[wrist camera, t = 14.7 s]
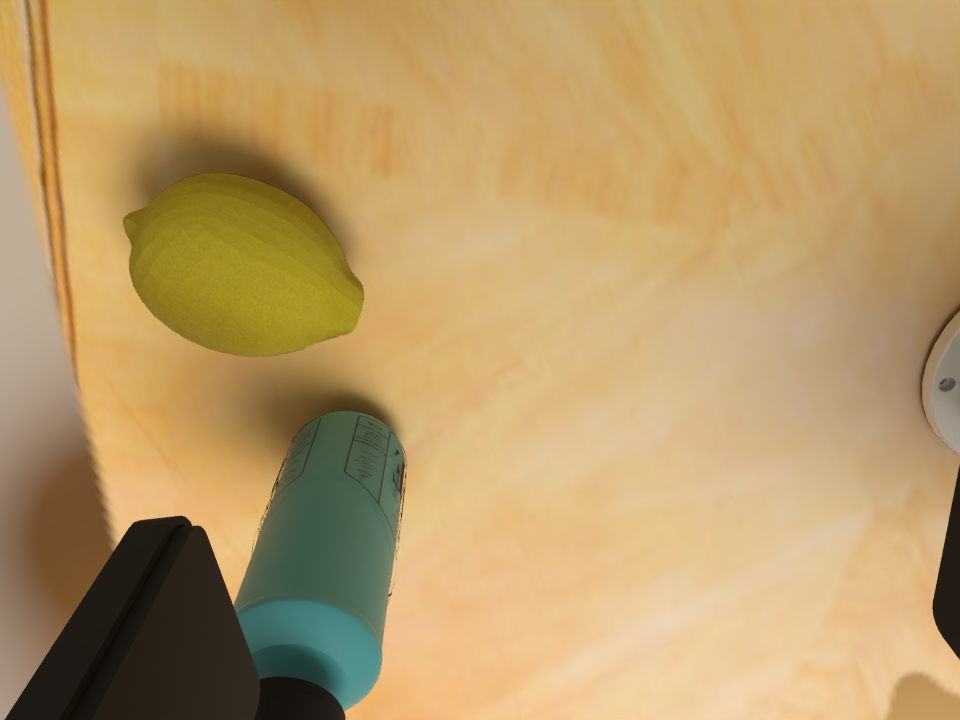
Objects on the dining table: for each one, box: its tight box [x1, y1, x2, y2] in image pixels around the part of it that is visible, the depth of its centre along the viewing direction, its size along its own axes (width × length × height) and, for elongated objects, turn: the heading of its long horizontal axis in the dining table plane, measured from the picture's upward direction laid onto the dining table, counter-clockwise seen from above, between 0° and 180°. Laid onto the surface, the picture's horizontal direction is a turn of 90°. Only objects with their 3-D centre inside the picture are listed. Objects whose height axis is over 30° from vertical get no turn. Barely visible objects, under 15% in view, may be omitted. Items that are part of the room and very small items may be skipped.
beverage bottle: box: [233, 411, 407, 720], centre depth 33 cm, size 6×7×20 cm
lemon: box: [123, 173, 364, 357], centre depth 33 cm, size 11×8×8 cm
